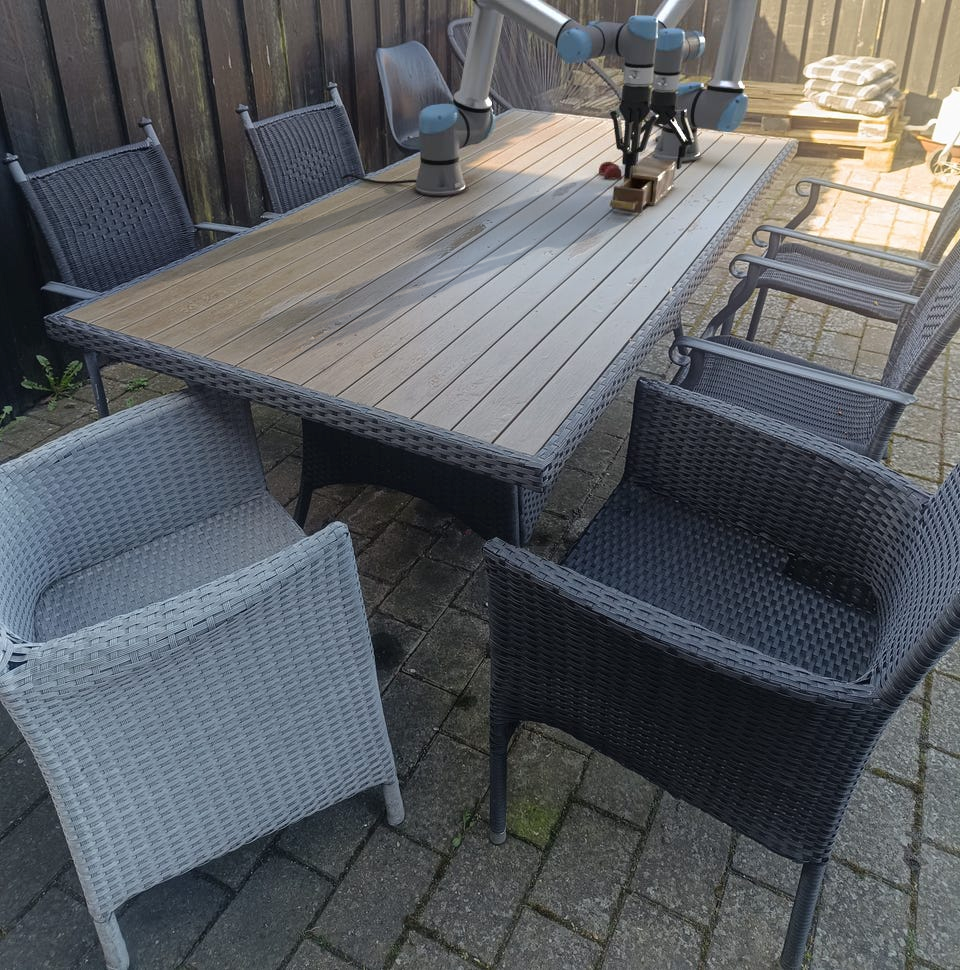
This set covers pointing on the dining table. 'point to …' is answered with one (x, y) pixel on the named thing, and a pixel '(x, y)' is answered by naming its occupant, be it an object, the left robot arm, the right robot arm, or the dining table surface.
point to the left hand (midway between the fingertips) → (628, 177)
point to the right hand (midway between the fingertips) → (656, 165)
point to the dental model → (610, 170)
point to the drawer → (632, 195)
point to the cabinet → (656, 176)
